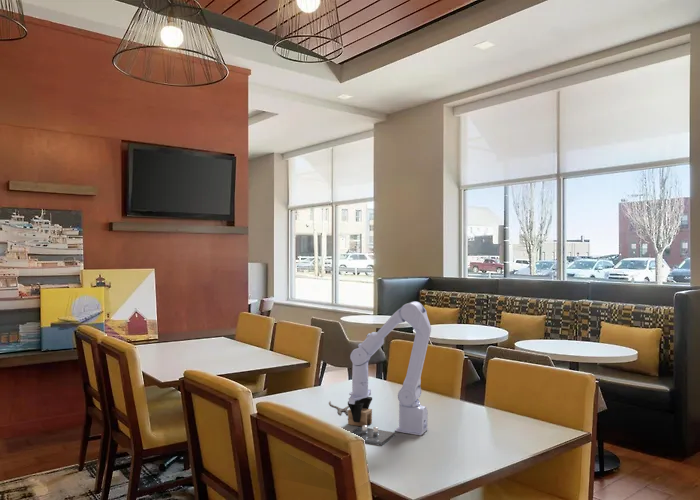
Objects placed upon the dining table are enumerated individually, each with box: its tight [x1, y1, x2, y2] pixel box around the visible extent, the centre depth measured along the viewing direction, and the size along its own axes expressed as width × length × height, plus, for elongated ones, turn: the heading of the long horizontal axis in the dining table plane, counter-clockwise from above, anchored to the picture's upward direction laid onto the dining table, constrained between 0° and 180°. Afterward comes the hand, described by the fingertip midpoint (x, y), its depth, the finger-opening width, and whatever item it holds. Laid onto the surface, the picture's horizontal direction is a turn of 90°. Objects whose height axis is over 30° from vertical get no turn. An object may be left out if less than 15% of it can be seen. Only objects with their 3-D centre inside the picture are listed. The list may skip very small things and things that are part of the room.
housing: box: [347, 408, 373, 427], centre depth 191 cm, size 7×5×5 cm
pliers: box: [328, 400, 350, 416], centre depth 212 cm, size 10×1×20 cm
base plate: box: [351, 424, 396, 446], centre depth 177 cm, size 13×11×4 cm
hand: (360, 419), depth 191 cm, fingers closed on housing, 5 cm apart
